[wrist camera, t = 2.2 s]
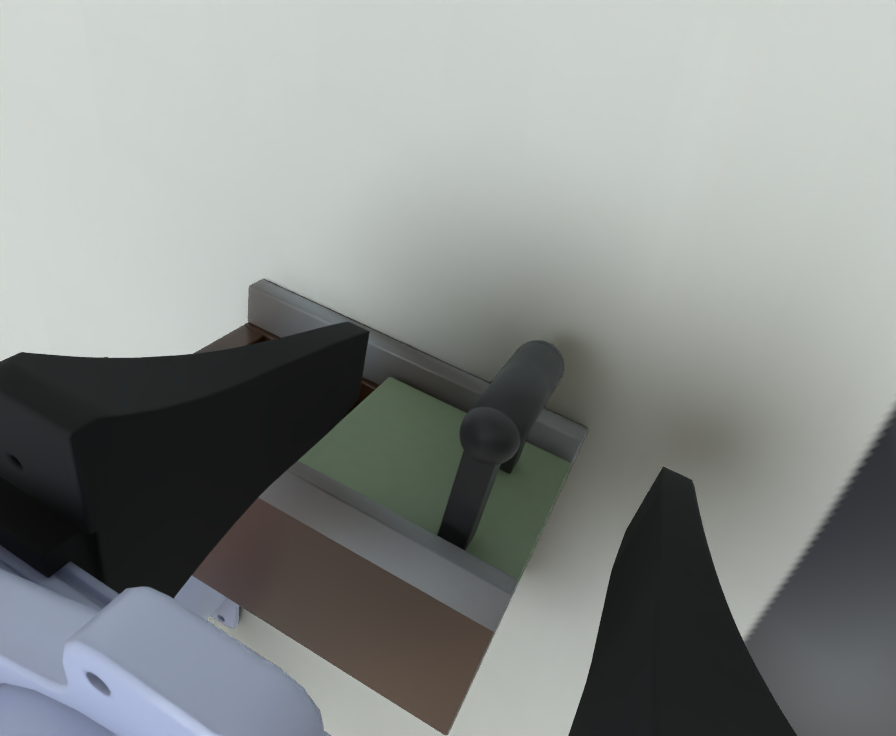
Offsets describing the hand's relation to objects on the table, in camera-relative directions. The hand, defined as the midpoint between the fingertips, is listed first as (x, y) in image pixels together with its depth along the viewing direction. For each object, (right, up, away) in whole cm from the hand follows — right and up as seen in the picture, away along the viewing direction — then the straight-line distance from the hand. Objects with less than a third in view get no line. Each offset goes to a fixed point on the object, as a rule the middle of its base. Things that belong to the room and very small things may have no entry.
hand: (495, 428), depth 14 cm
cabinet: (-3, -2, +10) cm, 10 cm away
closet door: (0, +1, +5) cm, 5 cm away
